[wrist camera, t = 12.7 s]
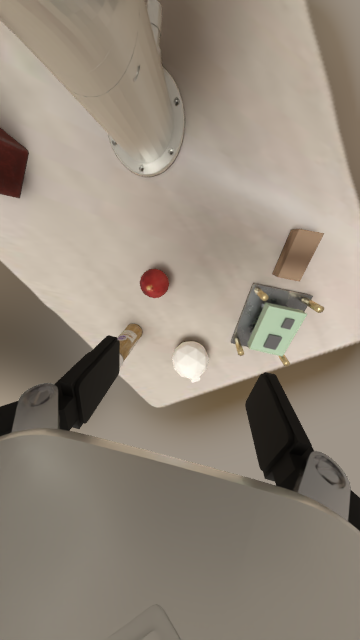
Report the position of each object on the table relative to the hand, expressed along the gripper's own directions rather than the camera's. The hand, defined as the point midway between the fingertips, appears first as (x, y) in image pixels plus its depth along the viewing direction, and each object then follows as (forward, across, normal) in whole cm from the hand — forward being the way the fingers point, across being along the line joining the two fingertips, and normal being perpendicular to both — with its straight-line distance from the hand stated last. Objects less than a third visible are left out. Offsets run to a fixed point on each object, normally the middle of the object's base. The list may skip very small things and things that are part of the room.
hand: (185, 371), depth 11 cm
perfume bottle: (+28, -2, +20) cm, 35 cm away
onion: (+28, +9, +2) cm, 30 cm away
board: (+24, -17, +6) cm, 30 cm away
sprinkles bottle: (+28, +14, +17) cm, 36 cm away
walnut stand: (+28, -16, -8) cm, 33 cm away
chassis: (+28, -17, +6) cm, 34 cm away
